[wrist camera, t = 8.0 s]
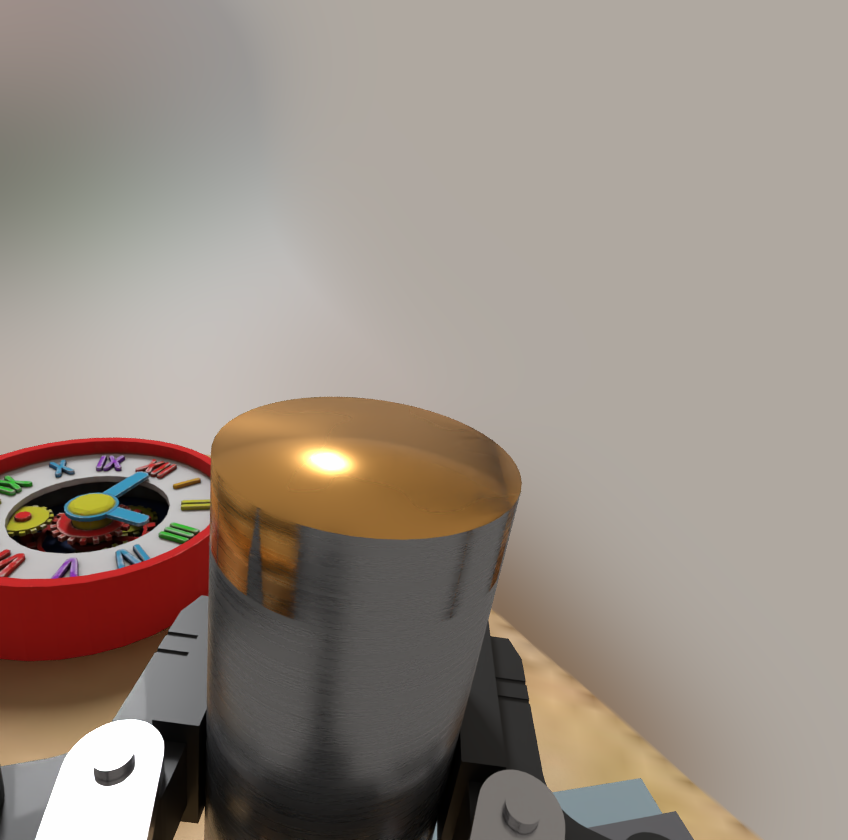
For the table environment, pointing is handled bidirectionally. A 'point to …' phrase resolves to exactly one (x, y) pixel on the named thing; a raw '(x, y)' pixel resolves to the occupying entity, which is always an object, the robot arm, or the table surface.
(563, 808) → the dock
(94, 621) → the toy clock
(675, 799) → the table surface
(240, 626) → the chrome cylinder
